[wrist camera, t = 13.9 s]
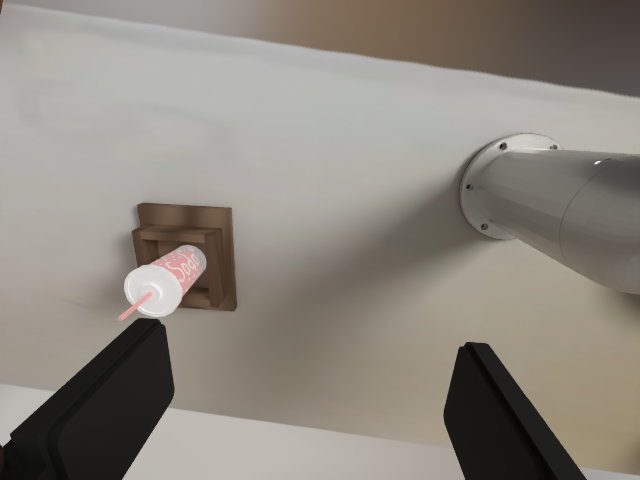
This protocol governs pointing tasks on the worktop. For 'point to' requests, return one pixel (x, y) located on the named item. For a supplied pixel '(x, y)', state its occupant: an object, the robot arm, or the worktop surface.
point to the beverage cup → (163, 282)
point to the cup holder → (196, 230)
